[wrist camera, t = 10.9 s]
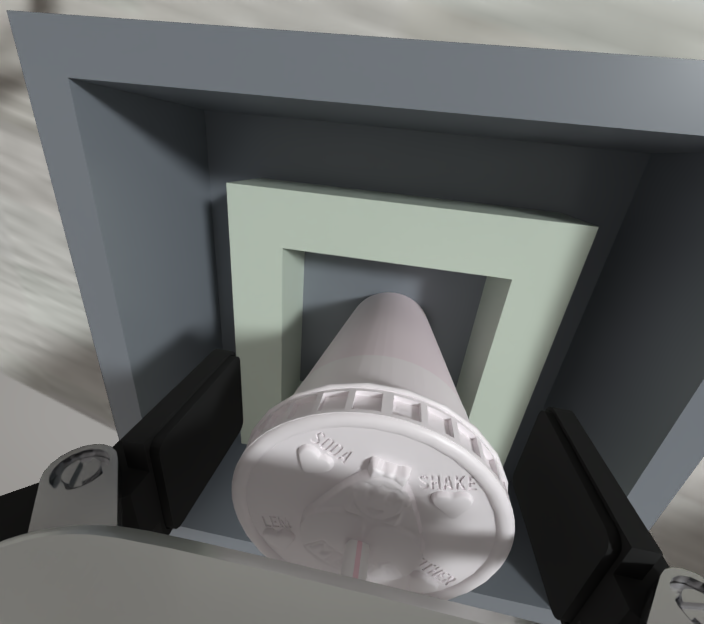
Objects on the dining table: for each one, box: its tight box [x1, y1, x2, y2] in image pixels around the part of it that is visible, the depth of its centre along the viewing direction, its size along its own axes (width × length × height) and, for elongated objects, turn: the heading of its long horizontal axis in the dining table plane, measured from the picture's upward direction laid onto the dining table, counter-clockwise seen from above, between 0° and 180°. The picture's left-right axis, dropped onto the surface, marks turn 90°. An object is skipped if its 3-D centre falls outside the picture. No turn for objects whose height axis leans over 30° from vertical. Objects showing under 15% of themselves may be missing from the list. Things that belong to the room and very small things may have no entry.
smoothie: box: [231, 292, 515, 600], centre depth 10 cm, size 6×6×14 cm
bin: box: [7, 10, 704, 624], centre depth 14 cm, size 19×19×7 cm
